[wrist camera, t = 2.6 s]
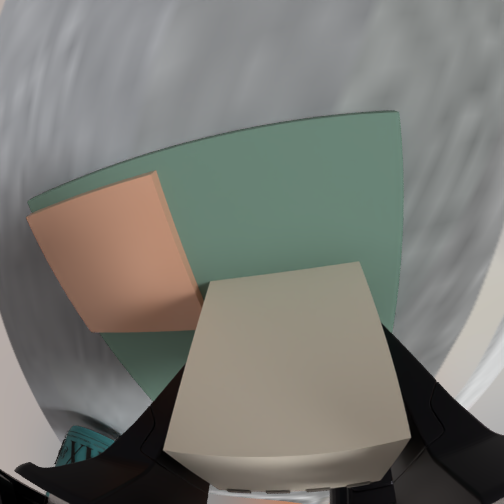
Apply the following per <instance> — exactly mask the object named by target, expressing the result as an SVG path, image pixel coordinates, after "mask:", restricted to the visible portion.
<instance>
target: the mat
mask: <svg viewBox="0 0 504 504" xmlns="http://www.w3.org/2000/svg"><path fill="white" fill-rule="evenodd" d="M155 170H156V171H157V174H158V178H159V181H160V184H161V187H162V190H163V192H164V195H165V198H166V201H167V204H168V207H169V210H170V213H171V216H172V218H173V221H174V224H175V227H176V230H177V232H178V235H179V238H180V241H181V243H182V246H183V249H184V251H185V254H186V257H187V259H188V262H189V264H190V267H191V270H192V272H193V275H194V277H195V280H196V282H197V285H198V287H199V290H200V292H201V295H202V297H203V300H205V297H206V293H207V290H208V287H209V284H210V281H216V280H224V279H233V278H241V277H249V276H256V275H264V274H272V273H279V272H287V271H294V270H302V269H309V268H316V267H323V266H330V265H337V264H344V263H351V262H358V261H359V262H360V265H361V267H362V270H363V273H364V275H365V278H366V281H367V284H368V286H369V289H370V292H371V295H372V298H373V301H374V303H375V306H376V309H377V312H378V315H379V318H380V321H381V323H382V324H383V325H384V326H385V327H386V328H387V329H388V330H389V331H390V332H391V333H392V330H393V324H394V317H395V310H396V303H397V295H398V286H399V277H400V266H401V253H402V236H403V198H404V192H403V155H402V138H401V126H400V115H399V112H397V111H375V112H361V113H349V114H339V115H330V116H321V117H313V118H306V119H299V120H292V121H286V122H279V123H274V124H268V125H262V126H257V127H252V128H247V129H242V130H237V131H232V132H228V133H223V134H219V135H214V136H210V137H206V138H202V139H198V140H194V141H190V142H186V143H183V144H179V145H175V146H172V147H168V148H165V149H161V150H158V151H155V152H151V153H148V154H145V155H142V156H138V157H135V158H132V159H129V160H126V161H123V162H120V163H117V164H115V165H112V166H109V167H106V168H103V169H101V170H98V171H95V172H93V173H90V174H87V175H85V176H82V177H80V178H77V179H75V180H72V181H70V182H67V183H65V184H63V185H60V186H58V187H56V188H53V189H51V190H49V191H46V192H44V193H42V194H40V195H38V196H35V197H33V198H32V199H30V200H29V201H28V202H27V203H28V205H29V207H30V210H31V212H32V213H33V212H35V211H38V210H40V209H42V208H45V207H47V206H50V205H53V204H55V203H58V202H60V201H63V200H66V199H68V198H71V197H74V196H76V195H79V194H82V193H85V192H88V191H91V190H93V189H96V188H99V187H102V186H105V185H108V184H112V183H115V182H118V181H121V180H124V179H127V178H131V177H134V176H137V175H141V174H144V173H148V172H151V171H155ZM195 331H196V330H184V331H161V332H99V333H100V335H101V336H102V338H103V339H104V340H105V342H106V343H107V345H108V346H109V347H110V349H111V350H112V351H113V353H114V354H115V355H116V357H117V358H118V359H119V361H120V362H121V363H122V365H123V366H124V367H125V368H126V370H127V371H128V372H129V374H130V375H131V376H132V377H133V378H134V380H135V381H136V382H137V383H138V385H139V386H140V387H141V388H142V389H143V390H144V392H145V393H146V394H147V395H148V396H149V397H150V399H151V400H152V401H154V400H155V399H156V398H157V396H158V395H159V394H160V393H161V392H162V391H163V389H164V388H165V387H166V386H167V385H168V383H169V382H170V381H171V380H172V379H173V377H174V376H175V375H176V374H177V373H178V372H179V370H180V369H181V368H182V367H183V366H184V364H185V363H186V362H187V358H188V355H189V351H190V348H191V344H192V341H193V337H194V334H195Z"/></svg>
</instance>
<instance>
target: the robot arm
mask: <svg viewBox="0 0 504 504" xmlns="http://www.w3.org/2000/svg"><path fill="white" fill-rule="evenodd" d="M381 325H382V328H383V331H384V334H385V337H386V341H387V344H388V347H389V351H390V354H391V357H392V361H393V364H394V368H395V372H396V375H397V379H398V383H399V387H400V391H401V395H402V399H403V403H404V407H405V411H406V416H407V420H408V425H409V430H410V434H411V438H410V440H409V441H408V443H407V444H406V446H405V447H404V449H403V450H402V452H401V453H400V455H399V456H398V458H397V459H396V460H395V462H394V463H393V464H392V466H391V467H390V468H389V470H388V471H387V472H386V474H385V475H384V476H383V478H382V479H381V480H380V481H375V482H370V484H369V485H363V486H357V487H351V488H347V486H345V487H338V488H330V504H504V435H500V434H497V433H495V432H493V431H491V430H490V429H488V428H487V427H486V426H484V425H483V424H482V423H481V422H480V421H478V420H477V419H476V418H475V417H474V416H473V415H472V414H471V413H469V412H468V411H467V410H466V409H465V408H464V407H462V406H461V405H460V404H459V403H458V402H457V401H456V400H455V399H454V398H453V397H452V396H450V394H449V393H448V392H447V391H446V390H445V389H444V388H443V387H442V386H441V385H440V384H439V382H436V379H435V378H434V377H433V376H432V375H431V374H430V373H429V372H428V371H427V370H426V369H425V368H424V366H423V365H422V364H421V363H420V362H419V361H418V360H417V359H416V358H415V357H414V356H413V355H412V354H411V353H410V352H409V351H408V350H407V349H406V347H405V346H404V345H403V344H402V343H401V342H400V341H399V340H398V339H397V338H396V337H395V336H394V335H393V334H392V333H391V332H390V331H389V330H388V329H387V328H386V327H385V326H384V325H383V324H382V323H381ZM185 366H186V363H185V364H184V366H183V367H182V368H181V369H180V370H179V372H178V373H177V374H176V375H175V376H174V377H173V379H172V380H171V381H170V382H169V383H168V385H167V386H166V387H165V388H164V389H163V391H162V392H161V393H160V394H159V395H158V396H157V398H156V399H155V400H154V401H153V402H152V404H151V405H150V406H149V407H148V408H147V409H146V410H145V412H144V413H143V414H142V415H141V416H140V417H139V418H138V419H137V421H136V422H135V423H134V424H133V425H132V426H131V427H130V428H129V429H128V430H127V431H126V432H125V433H123V434H122V435H121V436H120V437H119V438H118V439H117V440H116V441H115V442H114V443H113V444H112V445H110V446H109V447H108V448H107V449H106V450H105V451H104V452H102V453H101V454H99V455H98V456H96V457H93V458H90V459H87V460H83V461H79V462H74V463H70V464H65V465H61V466H56V467H50V468H42V467H38V466H36V465H35V464H32V463H31V462H28V463H25V464H22V465H20V466H18V467H17V468H16V469H15V472H16V473H18V474H20V475H21V476H22V477H24V478H25V479H27V480H29V481H30V482H32V483H33V484H35V485H37V486H38V487H40V488H42V489H43V490H45V491H47V492H49V493H50V495H49V497H48V496H46V495H44V494H42V493H40V492H38V491H37V490H35V489H33V488H31V487H29V486H27V485H25V484H23V483H22V482H20V481H19V480H17V479H15V478H14V477H12V476H10V475H9V474H7V473H5V472H4V471H2V470H1V469H0V504H207V499H208V492H209V486H210V483H208V482H207V481H205V480H203V479H202V478H200V477H199V476H198V475H196V474H195V473H193V472H192V471H190V470H189V469H187V468H186V467H185V466H183V465H182V464H181V463H179V462H178V461H176V460H175V459H174V458H172V457H171V456H170V455H169V454H167V453H166V452H165V451H163V448H164V444H165V440H166V437H167V433H168V429H169V425H170V421H171V417H172V413H173V410H174V406H175V402H176V398H177V395H178V391H179V387H180V384H181V380H182V376H183V373H184V369H185Z"/></svg>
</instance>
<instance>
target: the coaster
mask: <svg viewBox="0 0 504 504" xmlns="http://www.w3.org/2000/svg"><path fill="white" fill-rule="evenodd" d="M26 219H27V221H28V223H29V225H30V228H31V230H32V232H33V234H34V236H35V238H36V240H37V242H38V244H39V246H40V248H41V250H42V252H43V254H44V256H45V258H46V260H47V262H48V263H49V265H50V267H51V269H52V271H53V272H54V274H55V276H56V278H57V279H58V281H59V283H60V285H61V286H62V288H63V290H64V291H65V293H66V295H67V296H68V298H69V299H70V301H71V303H72V304H73V306H74V307H75V309H76V310H77V312H78V314H79V315H80V317H81V318H82V320H83V321H84V323H85V324H86V325H87V327H88V328H89V330H90V331H91V332H161V331H184V330H196V327H197V324H198V320H199V317H200V313H201V310H202V307H203V303H204V300H203V297H202V295H201V292H200V290H199V287H198V285H197V282H196V280H195V277H194V275H193V272H192V270H191V267H190V264H189V262H188V259H187V257H186V254H185V251H184V249H183V246H182V243H181V241H180V238H179V235H178V232H177V230H176V227H175V224H174V221H173V218H172V216H171V213H170V210H169V207H168V204H167V201H166V198H165V195H164V192H163V190H162V187H161V184H160V181H159V178H158V174H157V171H156V170H155V171H151V172H148V173H144V174H141V175H137V176H134V177H131V178H127V179H124V180H121V181H118V182H115V183H112V184H108V185H105V186H102V187H99V188H96V189H93V190H91V191H88V192H85V193H82V194H79V195H76V196H74V197H71V198H68V199H66V200H63V201H60V202H58V203H55V204H53V205H50V206H47V207H45V208H42V209H40V210H38V211H35V212H33V213H31V214H30V215H28V216H27V217H26Z"/></svg>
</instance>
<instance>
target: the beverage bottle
mask: <svg viewBox="0 0 504 504" xmlns="http://www.w3.org/2000/svg"><path fill="white" fill-rule="evenodd" d="M67 432H68V431H67ZM66 435H67V437H66V436H65V439H64V440H63V444H64V445H63V444H62V446H61V449H60V450H59V453H58V457H59V458H58V457H57V459H58V460H57V459H56V462H57V463H56V462H55V464H56V466H61V465H65V464H70V463H74V462H79V461H83V460H87V459H90V458H93V457H96V456H98V455H99V454H101V453H102V452H104V451H105V450H106V449H107V448H108V447H109V446H110V445H112V444H113V443H114V442H115V441H113V440H111V439H109V438H107V437H105V436H103V435H101V434H99V433H97V432H94V431H92V430H89V429H87V428H84V427H80V426H73V427H72V428H71V429H70V430H69V432H68V434H66ZM64 441H65V442H64ZM56 466H55V467H56ZM49 495H50V493H49V492H46V496H48V497H49Z"/></svg>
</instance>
